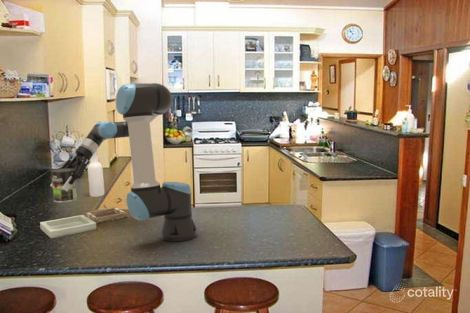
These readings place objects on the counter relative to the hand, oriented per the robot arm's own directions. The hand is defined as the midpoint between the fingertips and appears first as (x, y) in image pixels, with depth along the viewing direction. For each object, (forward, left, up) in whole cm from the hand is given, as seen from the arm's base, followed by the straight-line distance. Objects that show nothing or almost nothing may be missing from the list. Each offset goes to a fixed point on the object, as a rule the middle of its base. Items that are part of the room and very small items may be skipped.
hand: (58, 188), depth 207 cm
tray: (+1, -3, -20) cm, 20 cm away
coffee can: (+1, -3, -6) cm, 7 cm away
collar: (+9, -24, -20) cm, 32 cm away
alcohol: (+65, -38, -20) cm, 78 cm away
